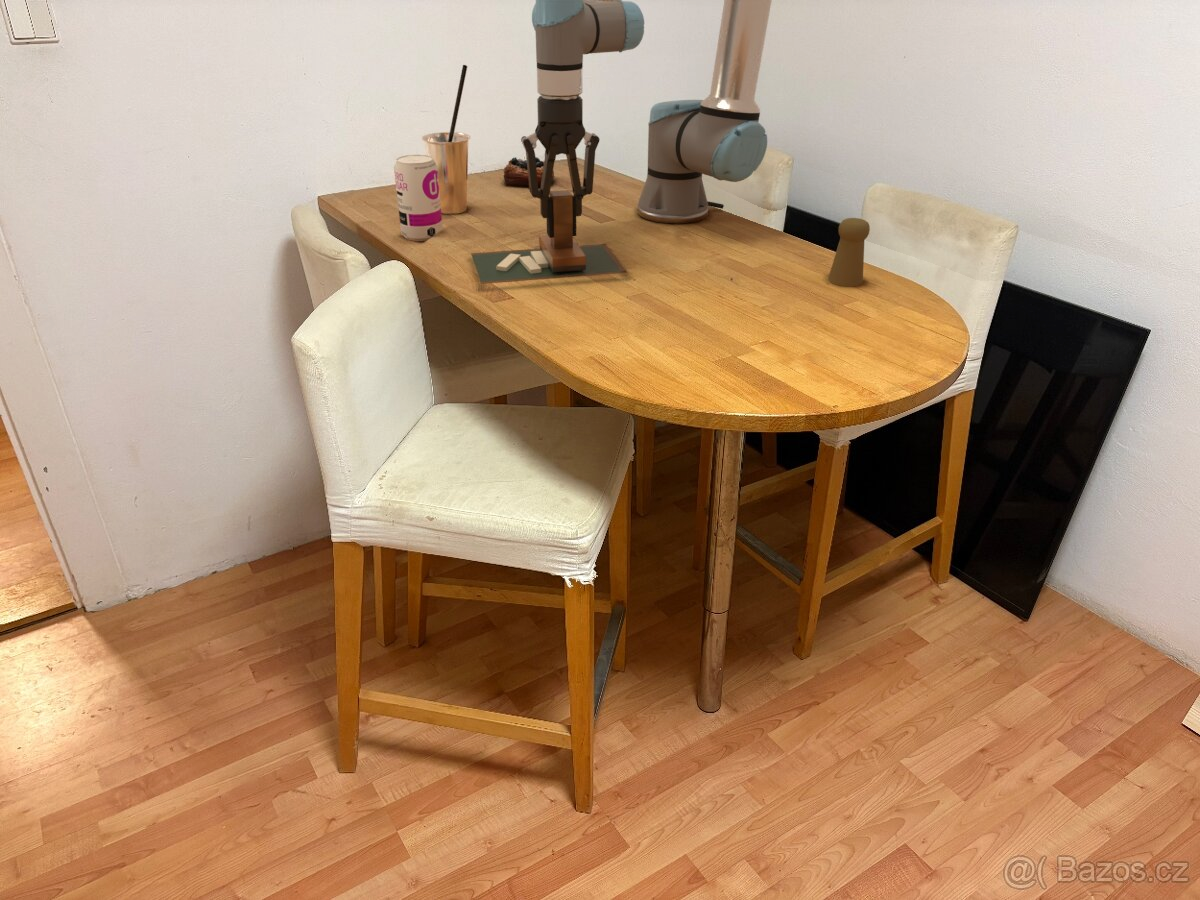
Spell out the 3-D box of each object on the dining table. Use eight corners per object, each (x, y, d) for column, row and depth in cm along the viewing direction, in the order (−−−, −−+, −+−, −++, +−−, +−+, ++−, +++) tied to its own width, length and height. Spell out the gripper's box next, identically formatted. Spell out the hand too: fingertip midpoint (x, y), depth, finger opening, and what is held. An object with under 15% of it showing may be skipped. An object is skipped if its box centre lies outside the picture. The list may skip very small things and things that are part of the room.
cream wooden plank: (519, 261, 158) (518, 256, 157) (529, 259, 158) (529, 255, 158) (530, 273, 152) (530, 269, 152) (541, 272, 153) (541, 268, 152)
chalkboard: (605, 249, 167) (605, 243, 167) (627, 278, 154) (627, 272, 153) (471, 259, 162) (470, 253, 161) (482, 290, 149) (481, 283, 148)
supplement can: (450, 232, 175) (444, 156, 167) (427, 244, 169) (419, 166, 161) (417, 227, 178) (409, 152, 170) (393, 238, 172) (384, 161, 164)
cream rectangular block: (510, 257, 159) (510, 253, 159) (520, 258, 159) (520, 254, 158) (496, 270, 154) (496, 265, 153) (506, 271, 153) (506, 267, 153)
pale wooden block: (530, 255, 160) (530, 251, 160) (541, 254, 161) (541, 250, 160) (537, 268, 155) (537, 264, 154) (548, 267, 155) (548, 263, 155)
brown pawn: (864, 276, 156) (875, 216, 150) (861, 288, 151) (872, 226, 145) (830, 272, 158) (839, 212, 152) (826, 284, 153) (836, 222, 147)
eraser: (570, 246, 164) (569, 182, 157) (585, 270, 153) (586, 202, 146) (539, 248, 162) (537, 184, 156) (552, 272, 152) (551, 204, 145)
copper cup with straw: (476, 218, 183) (466, 65, 168) (424, 217, 184) (409, 64, 168) (483, 203, 193) (474, 57, 177) (433, 202, 193) (420, 56, 177)
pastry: (509, 175, 214) (508, 150, 211) (557, 176, 213) (556, 152, 210) (500, 187, 205) (499, 161, 202) (550, 188, 204) (550, 163, 201)
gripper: (602, 90, 148) (600, 225, 160) (507, 93, 144) (512, 231, 156) (613, 98, 141) (611, 238, 154) (514, 101, 138) (519, 244, 150)
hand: (561, 234), depth 155 cm, fingers closed on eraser, 3 cm apart
